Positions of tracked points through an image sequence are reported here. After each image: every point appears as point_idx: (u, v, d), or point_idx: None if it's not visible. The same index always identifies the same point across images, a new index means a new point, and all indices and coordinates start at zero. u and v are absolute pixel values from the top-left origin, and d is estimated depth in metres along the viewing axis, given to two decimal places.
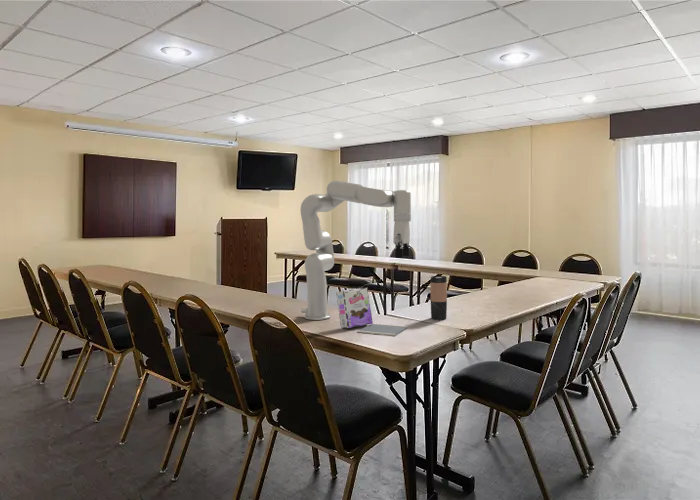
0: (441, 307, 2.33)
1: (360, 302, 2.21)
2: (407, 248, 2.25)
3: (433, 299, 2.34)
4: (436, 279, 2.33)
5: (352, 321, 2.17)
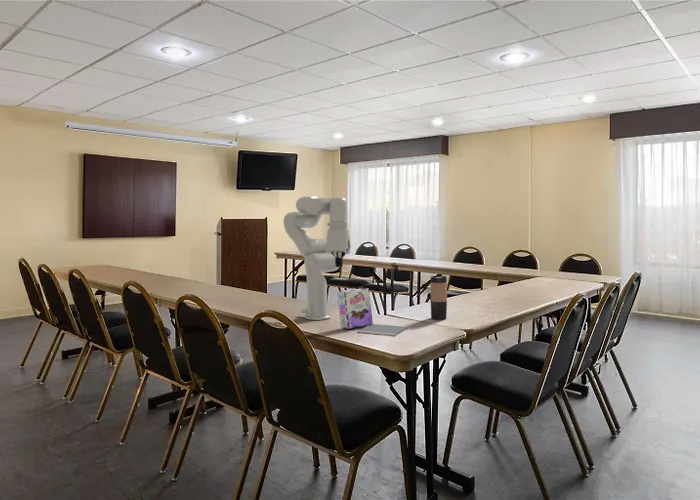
0: (441, 307, 2.33)
1: (361, 303, 2.20)
2: None
3: (433, 299, 2.34)
4: (436, 279, 2.33)
5: (352, 322, 2.16)
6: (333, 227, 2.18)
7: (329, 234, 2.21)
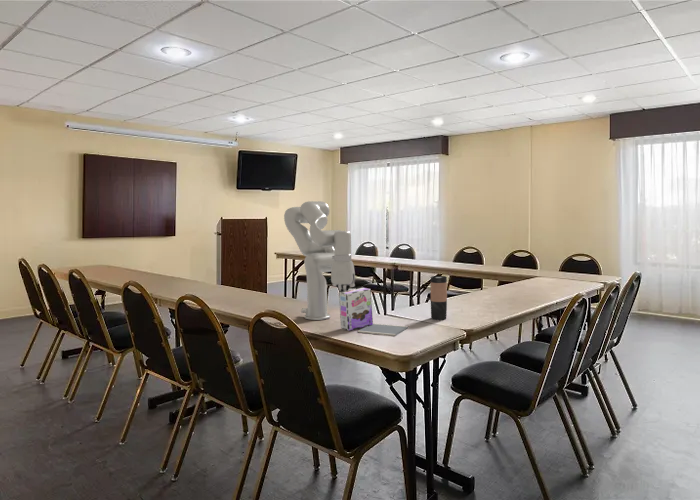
0: (441, 307, 2.33)
1: (362, 304, 2.18)
2: None
3: (433, 299, 2.34)
4: (436, 279, 2.33)
5: (353, 324, 2.16)
6: (338, 260, 2.19)
7: (334, 267, 2.21)
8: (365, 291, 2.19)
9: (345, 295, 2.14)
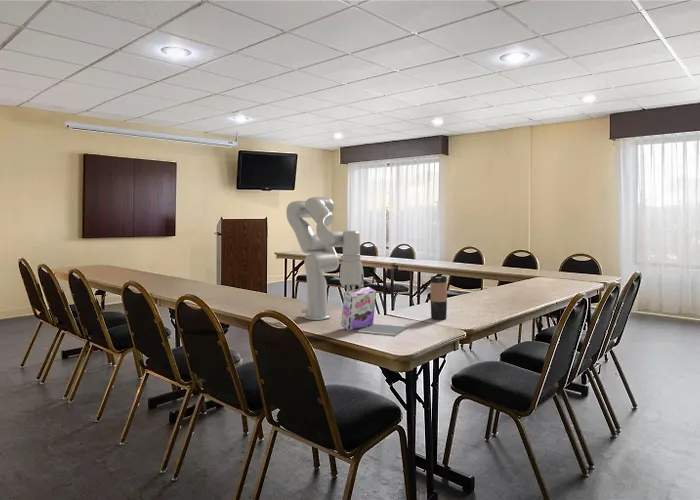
0: (441, 307, 2.33)
1: (365, 306, 2.17)
2: None
3: (433, 299, 2.34)
4: (436, 279, 2.33)
5: (354, 324, 2.16)
6: (346, 261, 2.17)
7: (342, 267, 2.19)
8: (370, 293, 2.16)
9: (350, 297, 2.11)
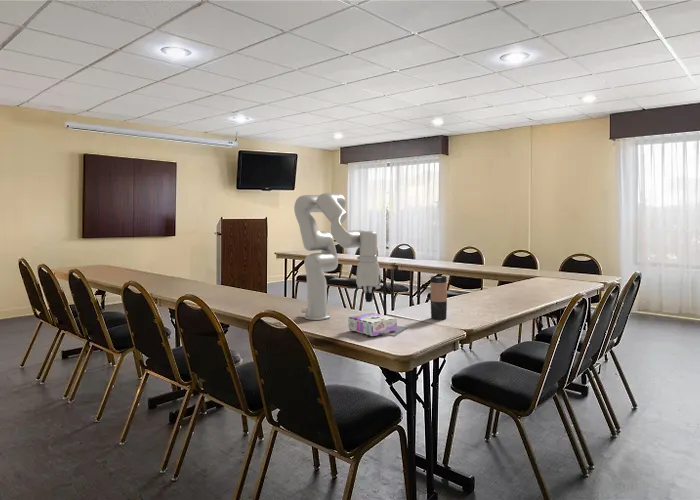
0: (441, 307, 2.33)
1: None
2: None
3: (433, 299, 2.34)
4: (436, 279, 2.33)
5: None
6: (364, 262, 2.13)
7: (359, 268, 2.15)
8: None
9: (370, 334, 2.02)
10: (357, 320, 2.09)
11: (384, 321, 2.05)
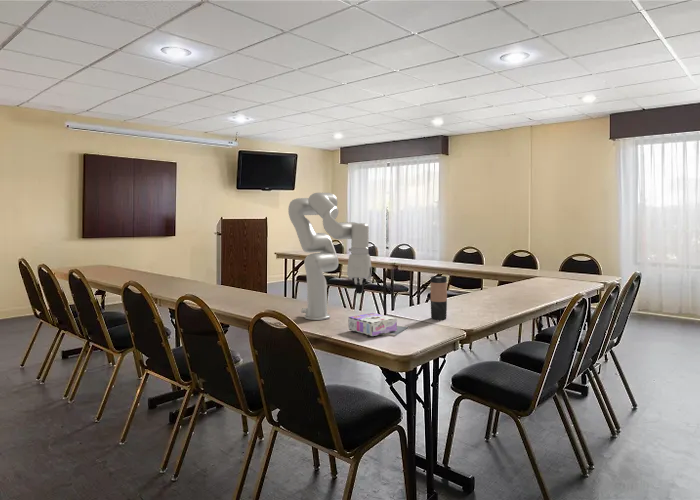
0: (441, 307, 2.33)
1: None
2: None
3: (433, 299, 2.34)
4: (436, 279, 2.33)
5: None
6: (355, 254, 2.15)
7: (350, 260, 2.17)
8: None
9: (370, 334, 2.02)
10: (357, 320, 2.09)
11: (384, 321, 2.05)
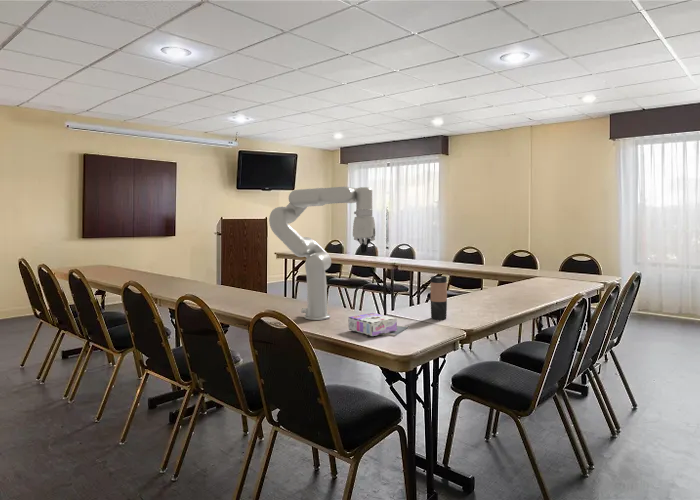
0: (441, 307, 2.33)
1: None
2: None
3: (433, 299, 2.34)
4: (436, 279, 2.33)
5: None
6: (359, 215, 2.31)
7: (355, 222, 2.33)
8: None
9: (370, 334, 2.02)
10: (357, 320, 2.09)
11: (384, 321, 2.05)
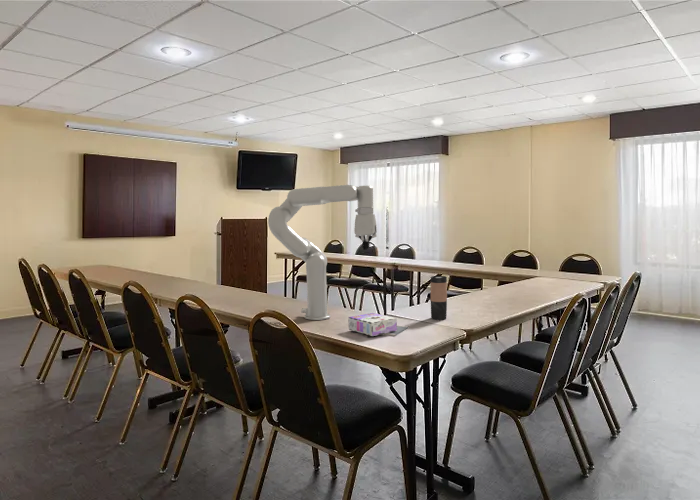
0: (441, 307, 2.33)
1: None
2: None
3: (433, 299, 2.34)
4: (436, 279, 2.33)
5: None
6: (361, 213, 2.36)
7: (357, 219, 2.38)
8: None
9: (370, 334, 2.02)
10: (357, 320, 2.09)
11: (384, 321, 2.05)
